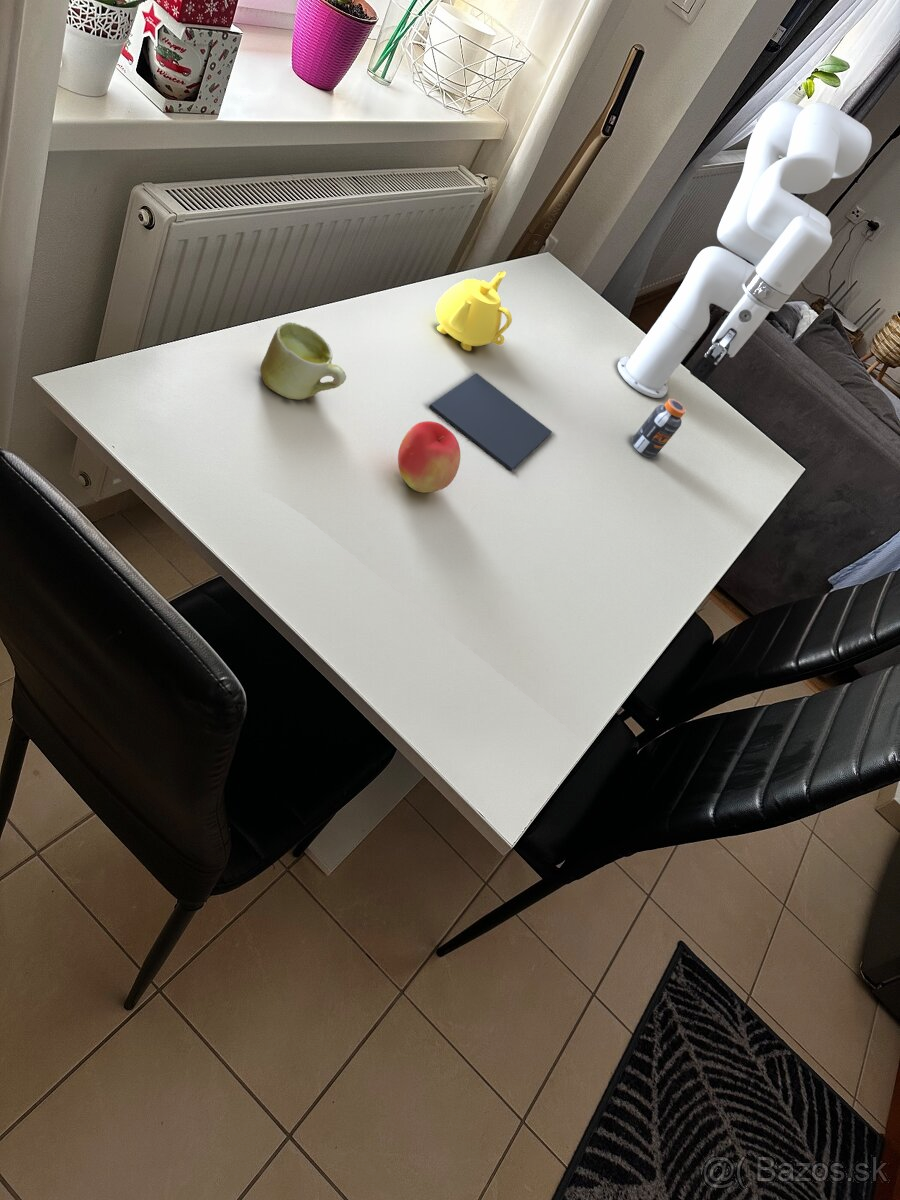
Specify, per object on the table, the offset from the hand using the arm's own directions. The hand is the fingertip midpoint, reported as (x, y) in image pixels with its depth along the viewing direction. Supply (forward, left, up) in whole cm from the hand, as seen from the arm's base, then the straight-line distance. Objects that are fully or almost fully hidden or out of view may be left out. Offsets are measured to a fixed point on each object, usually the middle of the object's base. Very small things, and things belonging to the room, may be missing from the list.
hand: (703, 369), depth 157 cm
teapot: (+8, -41, -20) cm, 46 cm away
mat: (+26, -24, -20) cm, 41 cm away
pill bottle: (-1, 0, -20) cm, 20 cm away
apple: (+54, -24, -20) cm, 62 cm away
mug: (+54, -48, -20) cm, 75 cm away
